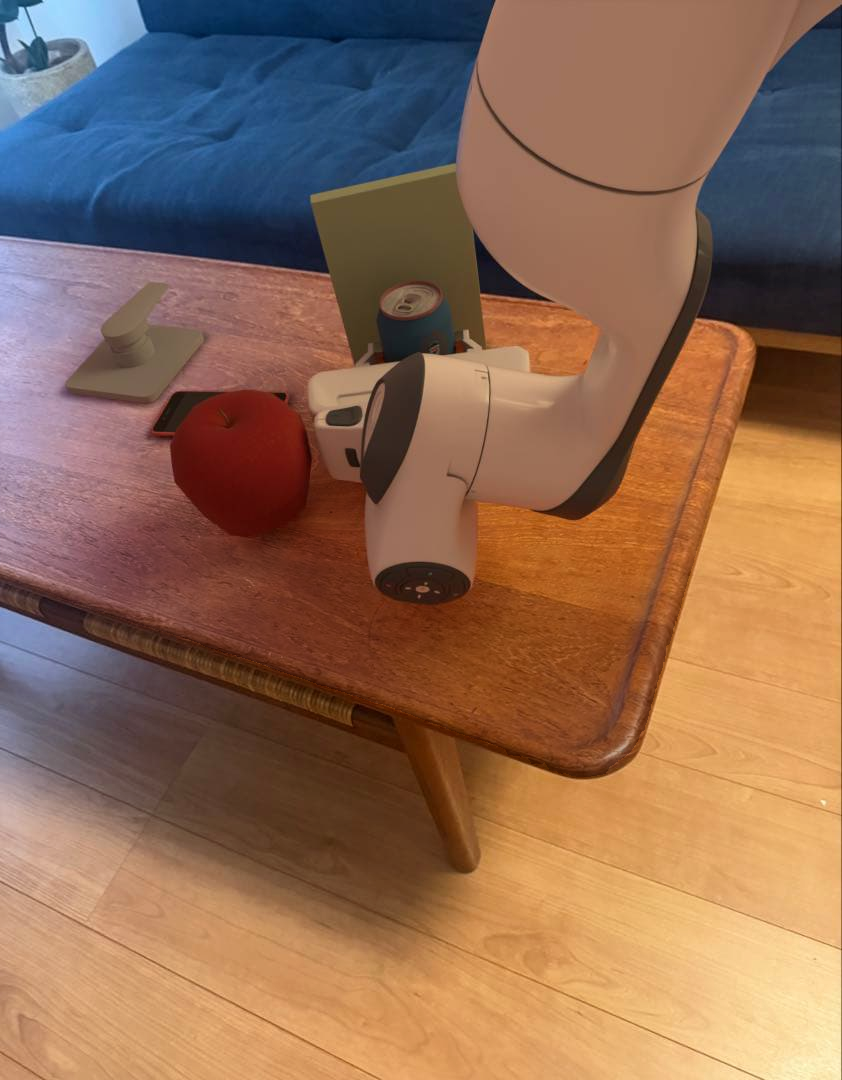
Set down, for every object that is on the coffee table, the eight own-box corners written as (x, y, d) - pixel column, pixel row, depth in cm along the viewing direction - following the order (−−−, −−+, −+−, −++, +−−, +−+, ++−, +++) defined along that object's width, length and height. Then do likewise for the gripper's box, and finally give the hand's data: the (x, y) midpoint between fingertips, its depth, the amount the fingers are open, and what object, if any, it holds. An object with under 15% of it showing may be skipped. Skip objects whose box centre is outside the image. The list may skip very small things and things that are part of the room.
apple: (253, 587, 71) (198, 480, 61) (183, 524, 77) (122, 418, 67) (356, 506, 75) (320, 394, 65) (281, 453, 82) (238, 344, 72)
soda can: (414, 374, 86) (394, 272, 77) (474, 385, 83) (461, 281, 74) (383, 416, 82) (358, 314, 73) (445, 430, 79) (427, 326, 70)
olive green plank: (484, 345, 88) (462, 161, 73) (487, 354, 87) (465, 169, 72) (357, 372, 88) (309, 194, 73) (358, 381, 87) (310, 203, 72)
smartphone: (270, 436, 83) (147, 433, 86) (271, 440, 83) (149, 437, 87) (290, 391, 87) (173, 389, 90) (292, 395, 87) (175, 393, 91)
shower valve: (201, 284, 95) (131, 364, 86) (218, 323, 99) (152, 404, 90) (116, 277, 99) (41, 354, 90) (134, 316, 103) (65, 392, 95)
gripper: (542, 395, 66) (525, 298, 75) (294, 427, 68) (307, 329, 77) (545, 452, 70) (529, 354, 79) (314, 480, 73) (324, 382, 82)
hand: (418, 342), depth 78 cm, fingers closed on soda can, 7 cm apart
